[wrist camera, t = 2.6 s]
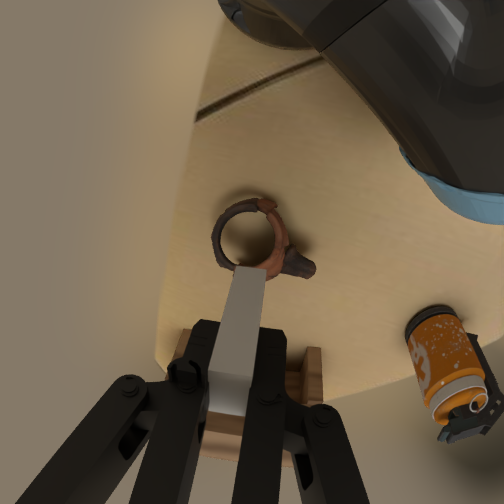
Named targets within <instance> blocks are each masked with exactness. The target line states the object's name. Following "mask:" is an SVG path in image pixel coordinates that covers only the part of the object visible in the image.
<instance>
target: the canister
mask: <svg viewBox="0 0 504 504" xmlns="http://www.w3.org/2000/svg"><path fill="white" fill-rule="evenodd" d="M477 337H478V335H475V334H471V333H467V332H465V330H464V328H463V326H462V324H461V322H460V321H459V319H458V317H457V315H456V313H455V312H454V311H453V310H452V309H450V308H448V307H435V308H431V309H428V310H426V311H424V312H423V313H421V314H419V315H418V316H417V317H416V318H415V319H414V320H413V321H412V322H411V323H410V325H409V326H408V328H407V330H406V334H405V339H406V343H407V346H408V349H409V352H410V355H411V359H412V362H413V365H414V369H415V372H416V375H417V379H418V382H419V386H420V390H421V393H422V397H423V400H424V404H425V406H426V407H427V408H429V409H430V411H431V414H432V418H433V419H434V420H435V421H436V422H437V423H439V424H442V425H446V426H444V427H443V429H442V430H441V432H440V434H439V436H438V438H437V439H438V441H441V442H443V441H444V440H445V439H446V441H447V443H448V444H450V443H454V442H455V441H457V440H460V439H464V438H467V437H470V436H473V435H476V434H482V435H485V434H486V433H487V432H488V431H489V429H490V428H491V427H492V426H493V425H494V423H495V422H496V421H497V420H498V418H499V417H500V416H501V414H502V413H503V412H504V395H503V394H502V393H501V391H500V390H499V387H498V383H497V381H496V379H495V377H494V374H493V373H492V371H491V369H490V367H489V365H488V363H487V360H486V358H485V356H484V354H483V352H482V350H481V348H480V346H479V344H478V342H477ZM497 400H499V401H501V403H500V405H498V404H497V403H496V401H497ZM485 401H486V402H485ZM492 409H493V410H494V413H493V414H492V415H491V414H490V411H491V410H492Z"/></svg>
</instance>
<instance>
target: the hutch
mask: <svg viewBox="0 0 504 504" xmlns="http://www.w3.org/2000/svg"><path fill="white" fill-rule="evenodd" d="M191 331H192V330H188V329H184V330H183V332H182V335H181V337H180V340H179V343H178V345H177V348H176V350H175V353H174V356H173V358H172V361H173V360H175V359H177V358H181V357H183V354H184V351H185V348H186V345H187V343H188V340H189V337H190V334H191ZM172 361H171V362H172ZM167 379H169V376H168V372H167V374H166V377H165V380H167ZM285 390H286V392H287V394H288V395H289V397H290V398H291V399H293V400H294V401H296V402H298V403H300V404H302V405H305V406H307V407H311V406H313V405H316V404H322V403H323V382H322V362H321V348H317V347H308V348H307V351H306V354H305V358H304V361H303V364H302V367H301V370H300V372H295V371H285ZM244 421H245V416H238V415H231V414H225V413H219V412H213V411H209V407H208V412H207V416H206V427H205V431H204V436H203V440H202V444H201V449H200V453H199V455H200V456H205V457H211V458H217V459H222V460H229V461H236V462H238V459H239V453H240V447H241V440H242V434H243V428H244ZM282 467H293V468H294V466H293V462H292V457H291V453H290V452H288V451H286V450H283V453H282Z"/></svg>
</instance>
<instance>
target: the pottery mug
mask: <svg viewBox="0 0 504 504" xmlns="http://www.w3.org/2000/svg"><path fill="white" fill-rule="evenodd" d="M277 206H278V205H277V204H276V203H274V202H272V201H269V200H266V199H258V198H251V199H247V200H243V201H240V202H238V203H235V204H233V205H232V206H230V207H229V208H227V209H226V210H225V213H224V214H222V215H221V216H220V217H219V219H218V220H217V222H216V224H215V226H214V229H213V232H212V235H211V239H212V242H213V243H212V245H213V249H214V254H215V257H216V261H217V263H218V264H219V266H220V267H224V268H227V269H229V270H231V271H234V272H235V269H236V266H243V267H247V266H245V265H243V264H242V263H239V264H238V265H237V264H234V263H232V262H231V261H230V260H229V259H228V258H227V257H226V256H225V254H224V253H223V250H222V248H221V244H220V239H221V233H222V230H223V228H224V226H225V224H226V223H227V221H228V220H229V219H230V218H232V217H233V216H235V215H237V214H239V213H242V212H257V211H261V212H263V213H265V214H266V215H267V216H266V218H267V220H268V221H269V222H270V223H271V225H272V227H273V229H274V233H275V244H274V249H273V251H272V253H271V254H270V256H269V257H268V258H267V259H266V260H265V261H263V262H262V263H260V264H258V265H256V266H251V268H258V269H266V270H267V273H266V281H268V280H270V279H273V278H274V277H276V276H278V274H280V273H281V274H288V275H292V276H297V277H302V278H305V279H309V278H311V277H312V276H313V275H314V274H315V272H316V266H315V263H314V262H313V261H311V260H309V259H307V258H306V257H304V256H302V255H301V254H300V253H299V252H298V251H297V249H296V245H294V244H290V247H289V248H288V249H287V251H286V253H285V252H284V247H285V246H288V245H289V239H288V235H287V230H286V227H285V225H284V223H283V220H282V218H281V217H280V215H279V214H278V213H277V212H276V210H274V208H277ZM233 276H234V274H233Z"/></svg>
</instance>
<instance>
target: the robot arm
mask: <svg viewBox="0 0 504 504" xmlns="http://www.w3.org/2000/svg"><path fill="white" fill-rule="evenodd" d="M218 3H219V5H220V7H221V9H222V10H223V12H224V14H225V15H226V16H227V18H228V19H229V20H230V21H231V22H232V23H233V24H234V25H235V26H236V27H237V28H238V29H239V30H240V31H242V32H243V33H244V34H246V35H247V36H249V37H250V38H252V39H254V40H256V41H258V42H260V43H263V44H265V45H268V46H271V47H275V48H280V49H286V50H309V49H316V50H317V51H318V52H319V53H321V52H322V51H323V50H324V51H323V52H322V53H321V54H320V55H321V56H322V57H323V58H324V59H325V60H326V61H327V62H328V63H329V64H330V65H331V66H332V67H333V68H334V69H335V70H336V71H337V72H338V73H339V74H340V76H341V77H342V78H343V79H344V80H345V81H346V82H347V83H348V84H349V85H350V86H351V88H352V89H353V90H354V91H355V92H356V93H357V94H358V95H359V97H360V98H361V99H362V100H363V101H364V102H365V103H366V105H367V106H368V107H369V108H370V109H371V111H372V112H373V113H374V114H375V115H376V117H377V118H378V119H379V120H380V122H381V123H382V124H383V125H384V127H385V128H386V129H387V130H388V132H389V133H390V134H391V136H392V137H393V138H394V139H395V141H396V142H397V143H398V145H399V150H400V152H401V154H402V156H403V157H404V159H405V160H406V162H407V163H408V165H409V166H410V167H411V168H412V169H414V170H415V171H416V172H417V173H418V175H420V176H421V177H422V178H423V179H424V180H425V182H426V183H427V185H428V186H429V187H430V189H431V190H432V192H433V193H434V194H435V196H436V197H437V198H438V199H439V200H440V201H441V202H442V203H443V204H444V205H446V206H447V207H448V208H449V209H451V210H452V211H454V212H455V213H457V214H459V215H461V216H463V217H465V218H468V219H471V220H474V221H477V222H481V223H486V224H494V225H504V0H218ZM328 46H329V47H328ZM266 273H267V270H266V269H258V268H251V267H243V266H236V269H235V272H234V276H233V280H232V283H231V287H230V291H229V294H228V298H227V302H226V305H225V309H224V312H223V316H222V320H221V322H217V321H210V320H204V319H200V320H199V321H198V322H197V323H196V324H195V325H194V326H193V329H192V331H191V334H190V337H189V340H188V343H187V345H186V348H185V351H184V354H183V357H181V358H177V359H175V360H173V361H172V362H170V364H169V365H168V367H167V370H168V376H169V379H167V380H165V381H160V382H145V381H144V380H143V379H142V378H141V377H139V376H136V375H124V376H121V377H119V378H118V379H117V380H116V381H115V382H114V383H113V384H112V385H111V386H110V388H109V389H108V390H107V391H106V392H105V394H104V395H103V396H102V397H101V398H100V400H99V401H98V402H97V403H96V405H95V406H94V407H93V408H92V409H91V410H90V412H89V413H88V414H87V415H86V416H85V418H84V419H83V420H82V421H81V422H80V424H79V425H78V426H77V427H76V428H75V430H74V431H73V432H72V433H71V435H70V436H69V437H68V438H67V439H66V441H65V442H64V443H63V444H62V446H61V447H60V448H59V449H58V450H57V452H56V453H55V454H54V456H53V457H52V458H51V459H50V460H49V462H48V463H47V464H46V465H45V467H44V468H43V469H42V470H41V472H40V473H39V474H38V475H37V477H36V478H35V479H34V480H33V482H32V483H31V484H30V485H29V487H28V488H27V489H26V490H25V492H24V493H23V494H22V495H21V497H20V498H19V499H18V500H17V502H16V503H15V504H105V503H106V501H107V500H108V498H109V497H110V495H111V494H112V492H113V491H114V490H115V488H116V487H117V485H118V484H119V482H120V481H121V479H122V478H123V476H124V475H125V473H126V472H127V471H128V469H129V467H130V466H131V465H132V463H133V462H134V460H135V459H136V457H137V456H138V455H139V453H140V452H141V450H142V449H143V447H144V446H145V444H146V443H147V441H148V440H149V442H148V445H147V448H146V451H145V454H144V457H143V460H142V463H141V466H140V469H139V472H138V476H137V479H136V482H135V485H134V488H133V491H132V494H131V498H130V501H129V504H188V501H189V497H190V492H191V488H192V484H193V479H194V475H195V470H196V466H197V461H198V457H199V453H200V449H201V444H202V440H203V436H204V431H205V427H206V416H207V412H208V407H209V411H213V412H219V413H225V414H231V415H238V416H245V421H244V428H243V434H242V440H241V447H240V453H239V459H238V466H237V472H236V478H235V484H234V490H233V497H232V503H231V504H278V502H279V491H280V479H281V467H282V453H283V450H286V451H288V452H290V453H291V457H292V462H293V466H294V470H295V474H296V479H297V483H298V488H299V492H300V496H301V501H302V504H370V503H369V499H368V497H367V493H366V490H365V487H364V484H363V481H362V478H361V475H360V472H359V469H358V466H357V463H356V460H355V457H354V454H353V451H352V448H351V445H350V442H349V440H348V437H347V434H346V431H345V428H344V425H343V422H342V419H341V417H340V415H339V413H338V411H337V410H336V409H334V408H333V407H332V406H329V405H326V404H316V405H313V406H311V407H307V406H305V405H302V404H300V403H298V402H296V401H294V400H293V399H291V398H290V397H289V395H288V394H287V392H286V390H285V371H286V349H287V338H286V336H285V334H284V332H283V330H279V329H271V328H263V327H259V326H260V319H261V311H262V304H263V296H264V288H265V281H266ZM149 438H150V439H149Z"/></svg>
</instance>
